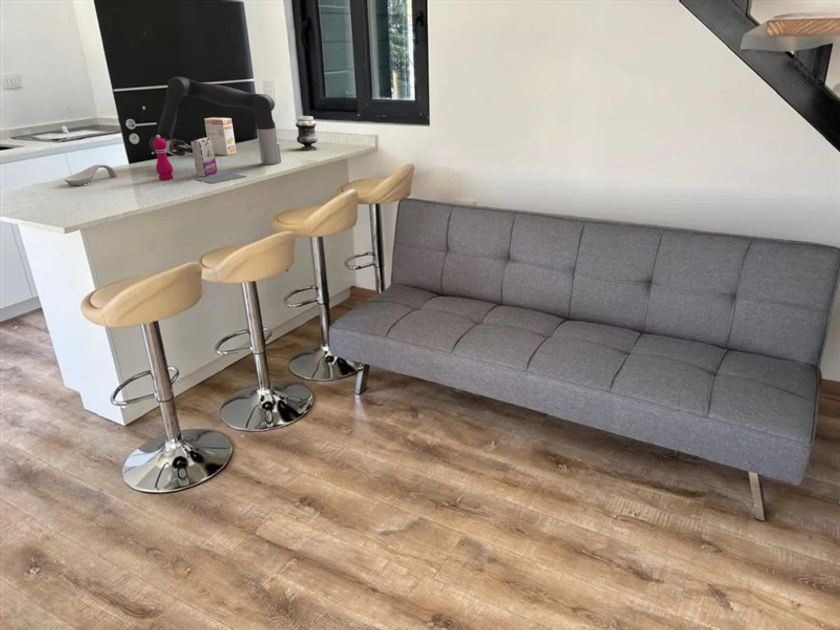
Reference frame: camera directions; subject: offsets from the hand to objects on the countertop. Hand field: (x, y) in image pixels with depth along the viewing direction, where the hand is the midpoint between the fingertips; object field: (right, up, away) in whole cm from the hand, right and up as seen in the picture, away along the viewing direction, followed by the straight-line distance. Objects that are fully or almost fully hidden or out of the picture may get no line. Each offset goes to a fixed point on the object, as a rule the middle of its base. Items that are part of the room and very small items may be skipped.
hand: (193, 150), depth 295 cm
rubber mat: (+17, -16, -11) cm, 26 cm away
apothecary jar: (+44, +17, +61) cm, 77 cm away
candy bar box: (+7, -12, -2) cm, 14 cm away
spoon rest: (-44, -18, -9) cm, 48 cm away
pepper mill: (-10, -16, -8) cm, 20 cm away
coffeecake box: (-3, +12, +54) cm, 56 cm away
